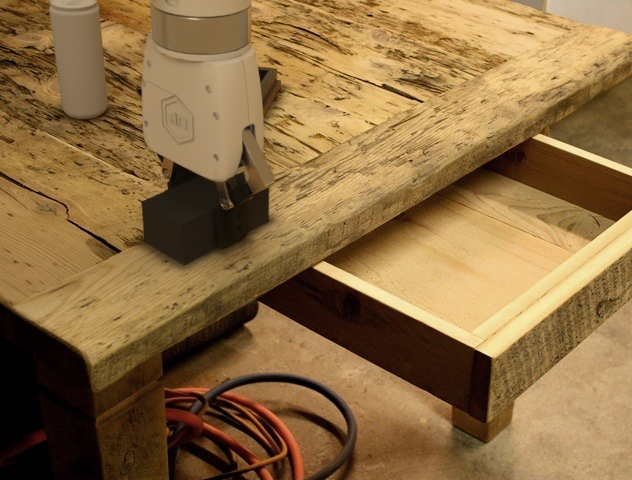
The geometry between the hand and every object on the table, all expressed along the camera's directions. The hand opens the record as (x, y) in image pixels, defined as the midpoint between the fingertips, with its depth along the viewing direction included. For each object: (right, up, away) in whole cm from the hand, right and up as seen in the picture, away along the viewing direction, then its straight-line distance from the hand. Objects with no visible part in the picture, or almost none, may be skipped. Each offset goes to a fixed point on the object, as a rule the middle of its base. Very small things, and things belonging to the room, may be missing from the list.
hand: (208, 227), depth 80 cm
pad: (0, 0, 0) cm, 0 cm away
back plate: (-1, +14, +22) cm, 26 cm away
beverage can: (-16, +13, +19) cm, 28 cm away
